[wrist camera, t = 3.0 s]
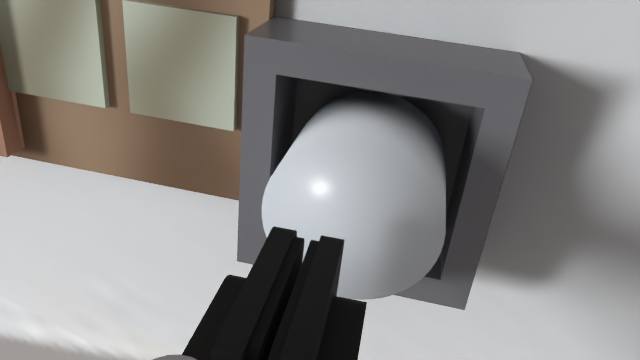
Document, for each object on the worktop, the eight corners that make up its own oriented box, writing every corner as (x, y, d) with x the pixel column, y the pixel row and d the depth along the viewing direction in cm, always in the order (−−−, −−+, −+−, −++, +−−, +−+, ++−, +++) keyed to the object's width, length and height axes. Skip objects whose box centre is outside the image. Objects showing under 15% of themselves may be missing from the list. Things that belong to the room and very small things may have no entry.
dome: (461, 105, 16) (465, 158, 13) (429, 239, 19) (425, 315, 15) (303, 79, 17) (266, 122, 14) (291, 212, 19) (257, 279, 16)
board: (280, -83, 16) (264, -83, 15) (263, 197, 21) (250, 217, 20) (-232, -145, 19) (-286, -149, 18) (-146, 116, 24) (-182, 129, 22)
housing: (519, 52, 17) (532, 79, 14) (462, 258, 20) (464, 309, 18) (273, 16, 18) (244, 35, 15) (262, 218, 22) (237, 260, 19)
